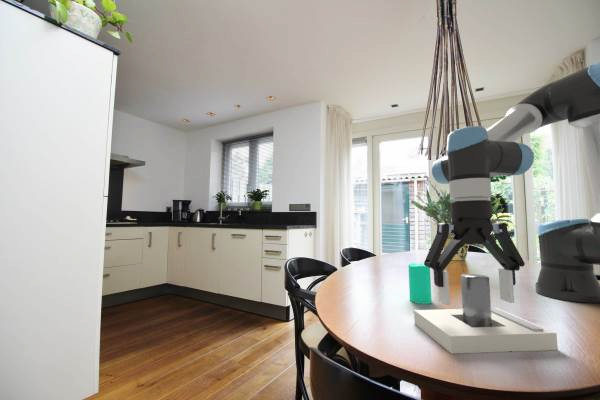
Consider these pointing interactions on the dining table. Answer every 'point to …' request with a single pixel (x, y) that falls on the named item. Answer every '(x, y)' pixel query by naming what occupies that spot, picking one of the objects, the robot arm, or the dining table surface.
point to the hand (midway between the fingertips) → (475, 301)
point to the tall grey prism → (476, 300)
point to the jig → (484, 332)
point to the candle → (419, 283)
